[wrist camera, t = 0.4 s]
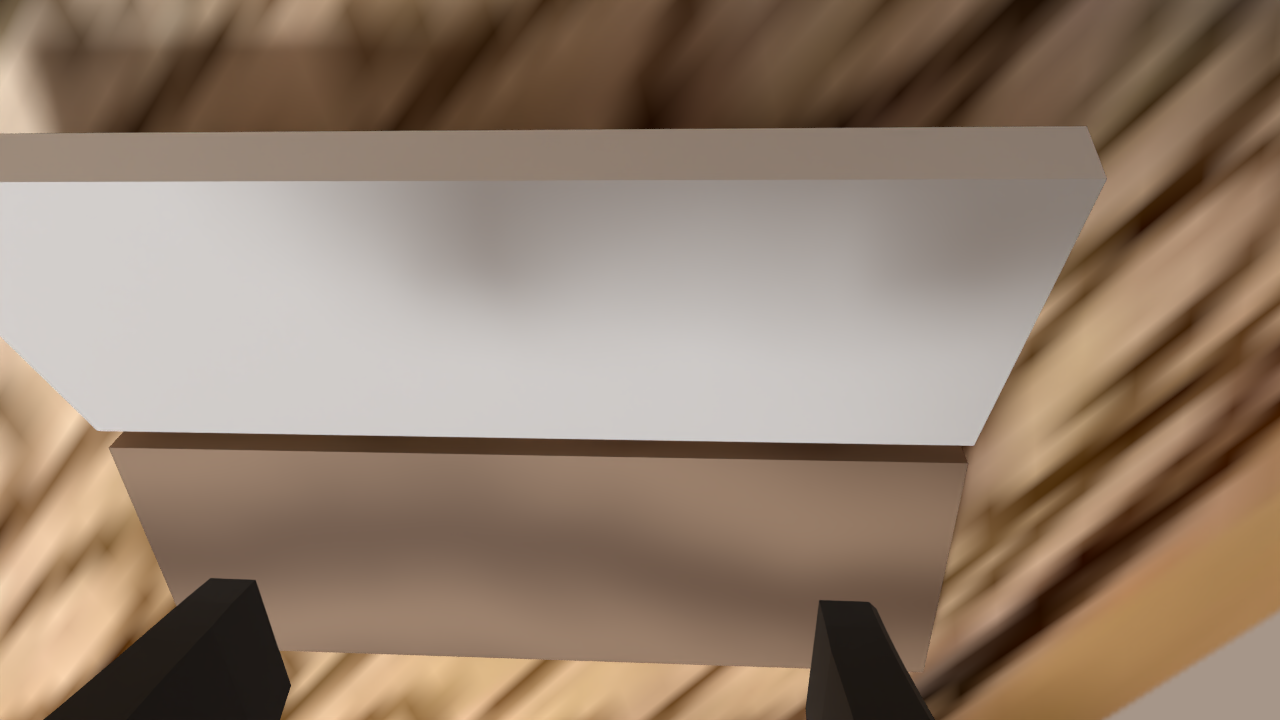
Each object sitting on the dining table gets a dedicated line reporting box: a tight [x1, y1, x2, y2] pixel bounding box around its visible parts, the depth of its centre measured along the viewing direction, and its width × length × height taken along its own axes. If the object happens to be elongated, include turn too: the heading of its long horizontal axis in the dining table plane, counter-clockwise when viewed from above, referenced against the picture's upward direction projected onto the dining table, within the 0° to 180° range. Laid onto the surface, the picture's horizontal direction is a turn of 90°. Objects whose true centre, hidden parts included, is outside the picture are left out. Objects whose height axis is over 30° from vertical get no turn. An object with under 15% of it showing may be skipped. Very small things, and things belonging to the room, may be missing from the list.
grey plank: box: [0, 126, 1107, 446], centre depth 17 cm, size 8×20×1 cm, turn 91°
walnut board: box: [109, 431, 968, 672], centre depth 23 cm, size 7×20×1 cm, turn 92°
